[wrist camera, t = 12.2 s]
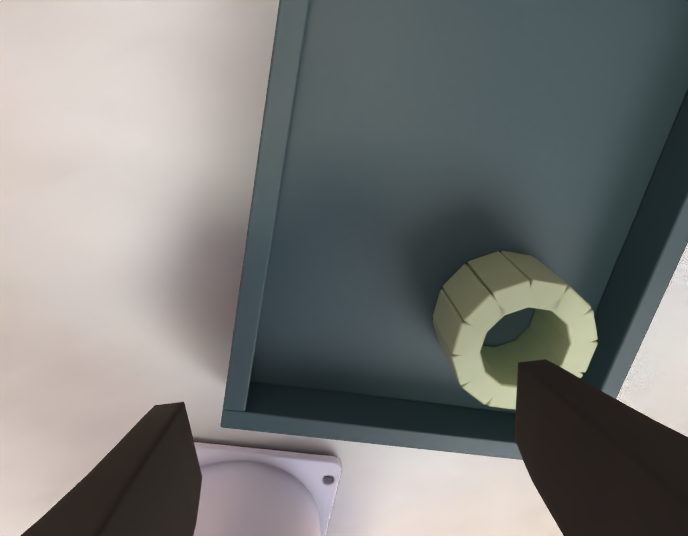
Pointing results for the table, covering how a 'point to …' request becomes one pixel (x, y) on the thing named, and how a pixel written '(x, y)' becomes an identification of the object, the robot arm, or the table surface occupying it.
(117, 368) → the table surface
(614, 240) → the dark teal tray
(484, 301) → the sage ring
